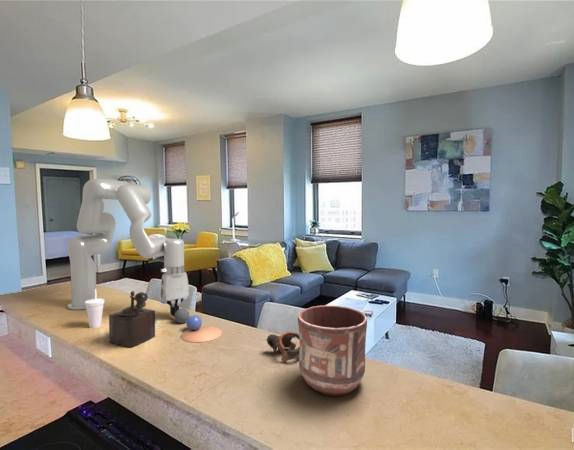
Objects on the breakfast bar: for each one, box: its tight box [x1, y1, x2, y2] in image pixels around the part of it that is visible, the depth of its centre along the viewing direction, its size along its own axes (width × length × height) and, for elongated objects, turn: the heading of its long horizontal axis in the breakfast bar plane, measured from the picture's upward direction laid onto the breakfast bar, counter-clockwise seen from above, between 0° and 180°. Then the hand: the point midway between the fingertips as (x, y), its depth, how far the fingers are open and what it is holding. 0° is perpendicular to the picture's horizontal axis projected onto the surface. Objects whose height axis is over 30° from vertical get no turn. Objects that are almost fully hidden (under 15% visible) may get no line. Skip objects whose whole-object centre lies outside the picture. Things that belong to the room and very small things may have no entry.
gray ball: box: [174, 307, 190, 324], centre depth 126 cm, size 6×6×6 cm
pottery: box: [297, 304, 368, 397], centre depth 84 cm, size 18×18×18 cm
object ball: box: [185, 314, 203, 331], centre depth 119 cm, size 6×6×6 cm
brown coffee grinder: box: [108, 290, 156, 348], centre depth 109 cm, size 16×11×18 cm
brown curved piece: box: [266, 331, 300, 363], centre depth 100 cm, size 12×10×8 cm
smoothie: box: [85, 288, 105, 329], centre depth 121 cm, size 6×6×14 cm
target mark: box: [180, 326, 223, 343], centre depth 115 cm, size 14×14×1 cm
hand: (174, 315), depth 130 cm, fingers closed
